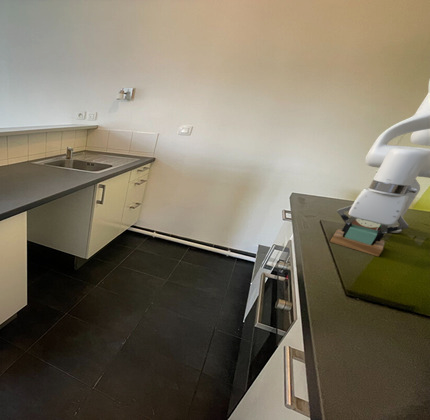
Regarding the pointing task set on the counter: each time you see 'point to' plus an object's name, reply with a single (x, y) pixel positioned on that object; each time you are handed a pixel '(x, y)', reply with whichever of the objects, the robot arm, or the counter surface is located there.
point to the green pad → (361, 234)
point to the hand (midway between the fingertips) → (359, 237)
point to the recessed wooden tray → (357, 244)
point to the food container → (367, 224)
